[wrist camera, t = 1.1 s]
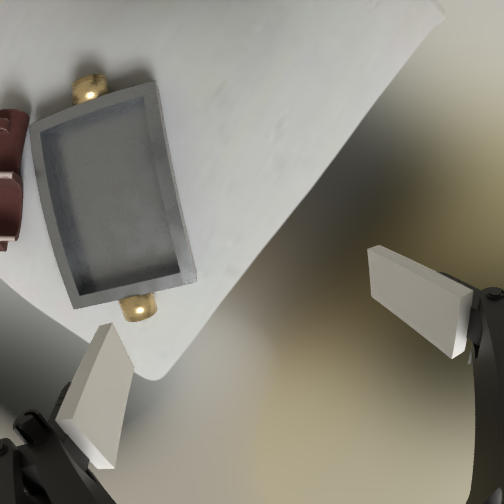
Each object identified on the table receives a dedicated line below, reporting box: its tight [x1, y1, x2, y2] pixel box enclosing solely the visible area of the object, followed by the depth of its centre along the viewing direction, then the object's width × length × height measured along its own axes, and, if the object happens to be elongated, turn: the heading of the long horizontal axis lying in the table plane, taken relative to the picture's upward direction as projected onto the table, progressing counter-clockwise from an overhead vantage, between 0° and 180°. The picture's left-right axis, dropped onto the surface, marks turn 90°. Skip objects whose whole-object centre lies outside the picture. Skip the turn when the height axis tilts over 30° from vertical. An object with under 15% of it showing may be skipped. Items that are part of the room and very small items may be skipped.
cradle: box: [29, 74, 197, 322], centre depth 31 cm, size 29×16×4 cm, turn 11°
